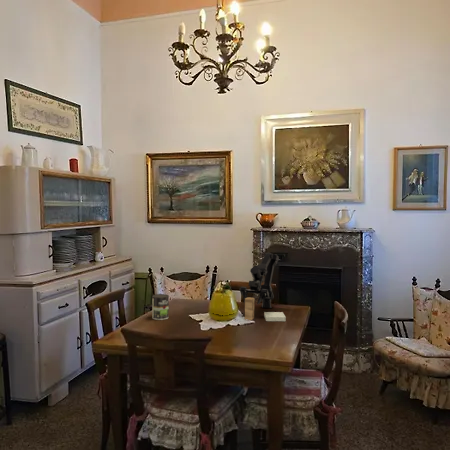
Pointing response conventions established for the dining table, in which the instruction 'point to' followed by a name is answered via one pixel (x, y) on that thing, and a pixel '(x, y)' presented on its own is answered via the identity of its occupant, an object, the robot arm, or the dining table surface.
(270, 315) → the tile base
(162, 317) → the coffee can
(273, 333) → the dining table surface
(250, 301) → the oak block
